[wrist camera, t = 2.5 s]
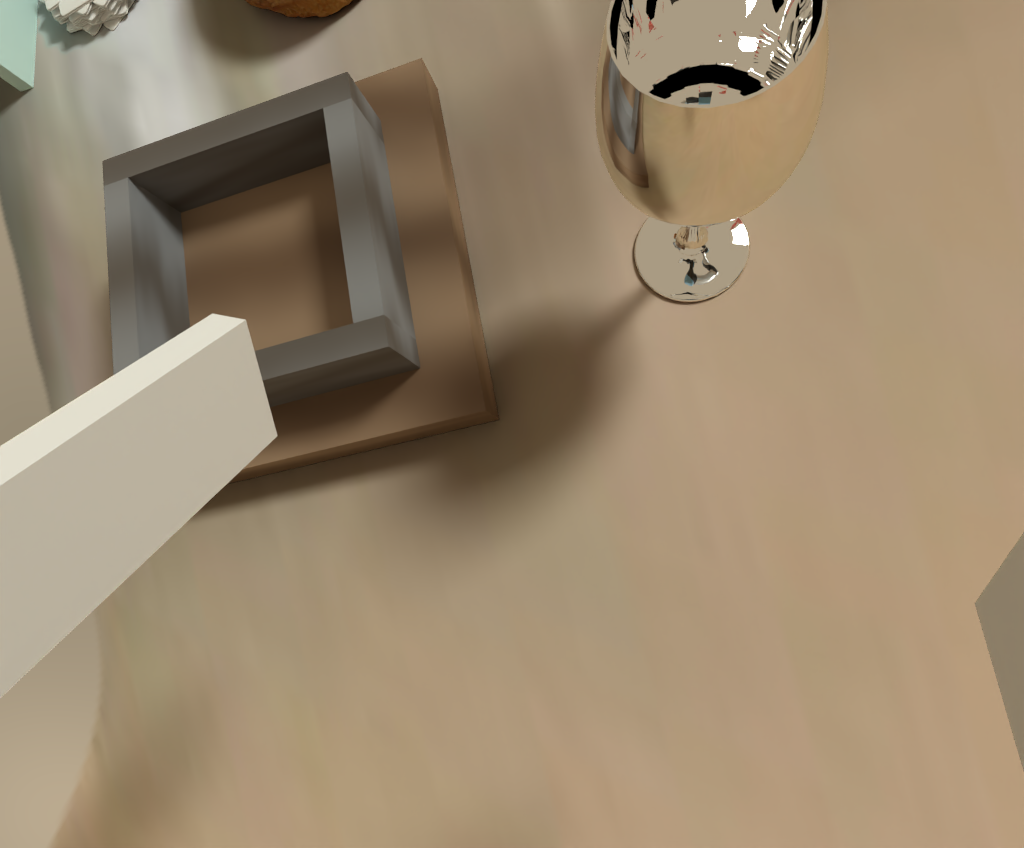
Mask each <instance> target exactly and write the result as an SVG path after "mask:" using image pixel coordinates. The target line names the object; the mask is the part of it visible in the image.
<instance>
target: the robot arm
mask: <svg viewBox="0 0 1024 848" xmlns="http://www.w3.org/2000/svg"><path fill="white" fill-rule="evenodd" d="M276 437H277V432H276V428H275V425H274V421H273V417H272V414H271V410H270V406H269V403H268V399H267V395H266V392H265V388H264V384H263V381H262V377H261V373H260V370H259V366H258V362H257V359H256V355H255V351H254V348H253V344H252V340H251V337H250V333H249V329H248V326H247V322H246V320H245V319H239V318H234V317H228V316H223V315H218V314H211V315H209V316H208V317H206V318H204V319H203V320H201V321H200V322H198V323H196V324H195V325H193V326H192V327H190V328H188V329H187V330H185V331H184V332H182V333H180V334H179V335H177V336H176V337H174V338H172V339H171V340H169V341H168V342H166V343H164V344H163V345H161V346H160V347H158V348H156V349H155V350H153V351H152V352H150V353H148V354H147V355H145V356H144V357H142V358H140V359H139V360H137V361H136V362H134V363H132V364H131V365H129V366H128V367H126V368H124V369H123V370H121V371H120V372H118V373H116V374H115V375H113V376H112V377H110V378H108V379H107V380H105V381H104V382H102V383H100V384H99V385H97V386H96V387H94V388H92V389H91V390H89V391H88V392H86V393H84V394H83V395H81V396H80V397H78V398H76V399H75V400H73V401H72V402H70V403H68V404H67V405H65V406H64V407H62V408H60V409H59V410H57V411H56V412H54V413H52V414H51V415H49V416H48V417H46V418H45V419H43V420H41V421H40V422H38V423H37V424H35V425H33V426H32V427H30V428H29V429H27V430H26V431H24V432H22V433H20V434H19V435H17V436H16V437H14V438H12V439H11V440H9V441H8V442H6V443H4V444H3V445H1V446H0V698H1V697H2V696H3V695H4V694H5V693H7V692H8V691H9V690H10V689H11V688H12V687H13V686H14V685H15V684H16V683H17V682H18V681H19V680H20V679H21V678H22V677H23V676H25V674H27V673H28V672H29V671H30V670H31V669H32V668H33V667H34V666H35V665H36V664H37V663H38V662H39V661H40V660H41V659H42V658H44V656H46V655H47V654H48V653H49V652H50V651H51V650H52V649H53V648H54V647H55V646H56V645H57V644H58V643H59V642H60V641H61V640H62V639H64V638H65V637H66V636H67V635H68V634H69V633H70V632H71V631H72V630H73V629H74V628H75V627H76V626H77V625H78V624H79V623H81V621H83V620H84V619H85V618H86V617H87V616H88V615H89V614H90V613H91V612H92V611H93V610H94V609H95V608H96V607H97V606H98V605H100V604H101V603H102V602H103V601H104V600H105V599H106V598H107V597H108V596H109V595H110V594H111V593H112V592H113V591H114V590H115V589H116V588H118V587H119V586H120V585H121V584H122V583H123V582H124V581H125V580H126V579H127V578H128V577H129V576H130V575H131V574H132V573H133V572H134V571H135V570H137V569H138V568H139V567H140V566H141V565H142V564H143V563H144V562H145V561H146V560H147V559H148V558H149V557H150V556H151V555H152V554H153V553H155V552H156V551H157V550H158V549H159V548H160V547H161V546H162V545H163V544H164V543H165V542H166V541H167V540H168V539H169V538H170V537H171V536H172V535H174V534H175V533H176V532H177V531H178V530H179V529H180V528H181V527H182V526H183V525H184V524H185V523H186V522H187V521H188V520H189V519H190V518H191V517H193V516H194V515H195V514H196V513H197V512H198V511H199V510H200V509H201V508H202V507H203V506H204V505H205V504H206V503H207V502H208V501H209V500H211V499H212V498H213V497H214V496H215V495H216V494H217V493H218V492H219V491H220V490H221V489H222V488H223V487H224V486H225V485H226V484H227V483H228V482H230V481H231V480H232V479H233V478H234V477H235V476H236V475H237V474H238V473H239V472H240V471H241V470H242V469H243V468H244V467H245V466H246V465H248V464H249V463H250V462H251V461H252V460H253V459H254V458H255V457H256V456H257V455H258V454H259V453H260V452H261V451H262V450H263V449H264V448H265V447H267V446H268V445H269V444H270V443H271V442H272V441H273V440H274V439H275V438H276ZM975 606H976V609H977V613H978V616H979V619H980V623H981V626H982V630H983V633H984V637H985V640H986V643H987V647H988V650H989V654H990V657H991V661H992V664H993V667H994V671H995V674H996V678H997V681H998V685H999V688H1000V692H1001V695H1002V698H1003V702H1004V705H1005V709H1006V712H1007V716H1008V719H1009V722H1010V726H1011V729H1012V733H1013V736H1014V740H1015V743H1016V746H1017V750H1018V753H1019V757H1020V760H1021V764H1022V767H1023V770H1024V533H1023V534H1022V536H1021V537H1020V539H1019V540H1018V542H1017V543H1016V545H1015V546H1014V547H1013V549H1012V550H1011V552H1010V553H1009V555H1008V556H1007V558H1006V559H1005V560H1004V562H1003V563H1002V565H1001V566H1000V568H999V569H998V571H997V572H996V573H995V575H994V576H993V578H992V579H991V581H990V582H989V584H988V585H987V586H986V588H985V589H984V591H983V592H982V594H981V595H980V597H979V598H978V600H977V601H976V602H975Z"/></svg>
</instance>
